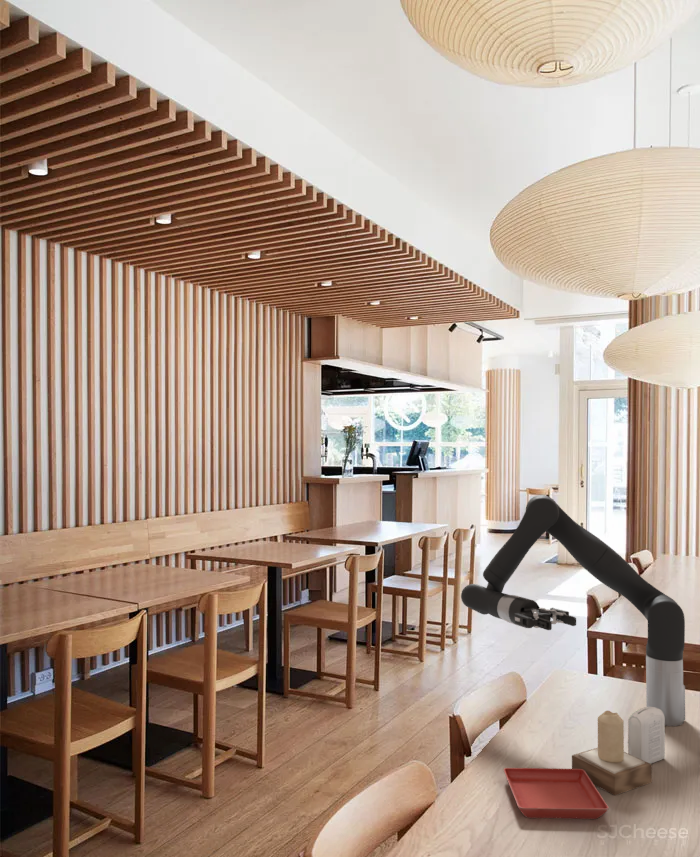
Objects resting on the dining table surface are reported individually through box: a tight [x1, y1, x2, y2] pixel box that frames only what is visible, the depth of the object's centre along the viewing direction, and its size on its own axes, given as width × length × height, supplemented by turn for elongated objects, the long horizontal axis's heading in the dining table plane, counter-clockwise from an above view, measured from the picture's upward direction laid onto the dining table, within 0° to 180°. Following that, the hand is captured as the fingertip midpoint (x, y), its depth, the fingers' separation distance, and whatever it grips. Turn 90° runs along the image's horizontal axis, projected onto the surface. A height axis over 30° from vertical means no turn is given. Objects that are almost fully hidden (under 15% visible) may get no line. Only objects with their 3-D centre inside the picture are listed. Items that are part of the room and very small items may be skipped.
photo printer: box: [627, 706, 666, 764], centre depth 169 cm, size 10×4×12 cm, turn 123°
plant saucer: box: [502, 767, 610, 820], centre depth 150 cm, size 18×18×3 cm
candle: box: [597, 710, 625, 763], centre depth 161 cm, size 6×6×10 cm
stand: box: [571, 747, 653, 796], centre depth 160 cm, size 12×12×4 cm
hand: (563, 623), depth 179 cm, fingers open, 8 cm apart
